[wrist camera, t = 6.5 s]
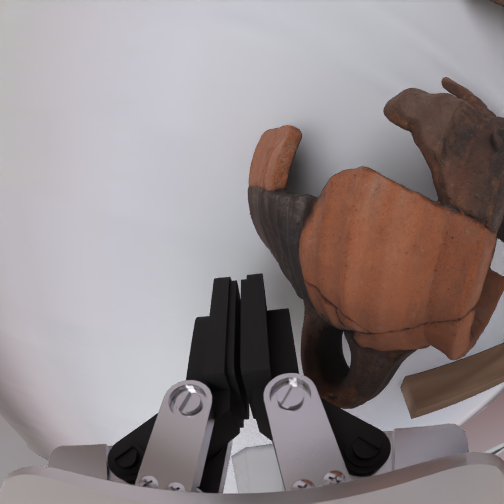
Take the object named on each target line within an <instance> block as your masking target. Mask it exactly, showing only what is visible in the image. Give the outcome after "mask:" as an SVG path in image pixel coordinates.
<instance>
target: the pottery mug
mask: <svg viewBox="0 0 504 504" xmlns="http://www.w3.org/2000/svg"><path fill="white" fill-rule="evenodd" d="M442 86H443V88H445V89H446V90H447V91H448V92H450V93H451V94H453V95H451V94H448V93H439V94H429V93H427V92H425V91H422V90H420V89H416V88H409V89H406V90H404V91H402V92H401V93H399V94H398V95H396V96H395V97H394V98H392V99H391V100H389V101H388V102H387V104H386V105H385V107H384V115H385V116H386V117H387V119H389V121H391V122H392V123H394V124H395V125H397V126H399V127H401V128H403V129H405V130H407V131H410V132H411V133H412V136H413V139H414V142H415V143H416V145H417V146H418V147H419V149H420V151H421V152H422V154H423V156H424V158H425V160H426V162H427V164H428V166H429V168H430V170H431V173H432V178H433V183H434V185H435V188H436V192H437V196H438V201H437V202H434V201H432V200H430V199H429V198H427V197H425V196H424V195H422V194H420V193H418V192H414V191H412V190H410V189H408V188H406V187H404V186H402V185H400V184H398V183H396V182H395V181H393V180H390V179H388V178H386V177H384V176H383V175H381V174H380V173H378V172H377V171H375V170H373V169H371V168H368V167H359V168H357V169H348V170H343V171H341V172H340V173H338V174H335V175H333V176H332V177H331V178H330V180H329V181H328V183H327V184H326V186H325V187H324V189H323V191H322V193H321V195H320V197H318V198H317V197H314V196H312V195H308V194H304V195H290V194H289V193H288V192H287V191H286V190H285V188H286V183H287V180H288V175H289V170H290V168H291V164H292V160H293V158H294V156H295V153H296V150H297V148H298V145H299V143H300V141H301V138H302V133H301V131H300V130H299V129H298V128H296V127H293V126H289V125H287V126H282V127H280V128H275V129H270V130H267V131H266V132H264V133H263V135H262V136H261V139H260V141H259V143H258V145H257V147H256V149H255V152H254V155H253V159H252V162H251V167H250V174H249V188H248V202H249V208H250V215H251V218H252V221H253V224H254V226H255V229H256V231H257V233H258V235H259V236H260V238H261V240H262V241H263V242H264V244H265V245H266V246H267V247H268V248H269V250H270V251H271V253H272V254H273V256H274V257H275V259H276V260H277V262H278V263H279V266H280V268H281V270H282V272H283V273H284V275H285V276H286V278H287V279H288V280H289V281H290V282H291V284H292V286H293V288H294V289H295V291H296V293H297V295H298V296H299V297H300V298H301V299H303V301H304V306H305V313H304V314H305V316H304V323H303V329H302V336H301V362H302V369H303V373H304V376H306V377H308V378H309V379H310V380H311V381H312V382H313V383H314V385H315V386H316V389H317V391H318V394H319V396H320V397H321V398H323V399H325V400H327V401H328V402H330V403H332V404H334V405H335V406H337V407H339V408H343V409H352V408H355V407H358V406H359V405H362V404H364V403H365V402H367V401H369V400H371V399H373V398H374V397H376V396H377V395H378V394H379V393H380V392H381V391H382V390H383V389H384V388H385V387H386V386H387V385H388V383H389V382H390V380H391V379H392V377H393V375H394V374H395V372H396V371H397V369H398V368H399V366H400V365H401V363H402V362H403V361H404V360H405V359H406V358H407V357H408V356H409V355H411V354H412V353H413V352H415V351H416V350H417V349H423V348H427V347H429V346H430V345H432V346H433V347H435V348H437V349H438V350H440V351H441V352H443V353H444V354H445V355H446V356H447V357H448V358H449V359H450V360H457V359H460V358H461V357H463V356H465V355H466V354H467V352H468V351H469V350H470V349H471V348H472V347H473V346H474V345H475V343H476V341H477V340H478V338H479V336H480V335H481V334H482V332H483V331H484V329H485V327H486V326H487V324H488V322H489V320H490V318H491V316H492V314H493V312H494V310H495V308H496V306H497V303H498V301H499V299H500V297H501V295H502V293H503V291H504V276H501V275H500V274H498V273H496V272H494V271H492V270H491V268H490V265H491V261H492V258H493V255H494V251H495V246H496V241H497V238H498V239H500V240H501V241H502V242H504V118H502V117H496V115H495V114H494V113H493V112H492V111H490V110H489V109H488V108H487V106H486V105H485V104H484V103H483V102H482V101H481V100H480V99H479V98H478V97H476V96H475V95H474V94H473V93H472V92H470V91H469V90H468V89H466V88H465V87H463V86H461V85H459V84H457V83H456V82H454V81H452V80H451V79H449V78H447V77H445V78H443V79H442ZM454 95H455V96H454ZM343 331H344V334H345V337H346V340H347V342H348V344H349V347H350V351H351V365H350V368H349V367H348V365H347V363H346V361H345V358H344V355H343V350H342V334H343Z"/></svg>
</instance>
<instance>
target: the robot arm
mask: <svg viewBox="0 0 504 504" xmlns="http://www.w3.org/2000/svg"><path fill="white" fill-rule="evenodd" d="M249 404H250V408H251V411H252V415H253V418H254V419H256V421H257V424H258V428H259V432H260V433H262V434H263V435H265V436H266V437H267V438H269V439H270V440H271V441H272V443H273V447H274V451H275V455H276V459H277V463H278V467H279V471H280V475H281V479H282V483H283V487H284V491H280V492H266V493H242V494H223V490H224V485H225V480H226V475H227V469H228V464H229V459H230V454H231V448H232V439H234V438H235V437H236V436H237V435H238V434H239V433H240V428H244V419H249ZM0 504H504V461H503V460H502V459H501V458H500V457H498V456H496V455H493V454H490V453H482V452H469V450H468V441H467V436H466V433H465V431H464V430H463V429H462V428H461V427H460V426H458V425H456V424H442V425H434V426H424V427H413V428H398V429H394V431H381V430H380V429H378V428H376V427H374V426H372V425H370V424H368V423H366V422H365V421H363V420H361V419H359V418H357V417H355V416H353V415H352V414H350V413H348V412H346V411H344V410H342V409H341V408H339V407H337V406H335V405H334V404H332V403H330V402H328V401H327V400H325V399H323V398H321V397H320V396H319V394H318V391H317V389H316V386H315V385H314V383H313V382H312V381H311V380H310V379H309V378H308V377H306V376H304V375H301V374H299V371H298V364H297V358H296V351H295V345H294V339H293V333H292V326H291V320H290V314H289V309H288V308H287V309H278V310H269V311H267V306H266V298H265V290H264V282H263V274H253V275H247V279H245V280H241V299H240V294H239V289H238V284H237V281H231V278H230V277H225V278H215V279H214V284H213V292H212V300H211V308H210V316H206V317H197V318H196V320H195V325H194V331H193V337H192V343H191V350H190V356H189V363H188V370H187V377H186V380H185V381H181V382H178V383H177V384H175V385H173V386H172V387H171V388H170V389H169V390H168V391H167V392H166V394H165V396H164V398H163V401H162V404H161V407H160V410H159V413H157V414H156V415H155V416H153V417H152V418H150V419H149V420H148V421H146V422H145V423H144V424H142V425H141V426H139V427H138V428H137V429H135V430H134V431H132V432H131V433H130V434H128V435H127V436H125V437H124V438H122V439H121V440H120V441H118V442H117V443H116V444H115V445H113V446H108V445H107V444H98V445H76V446H59V447H57V448H55V449H54V450H53V451H52V453H51V454H50V457H49V466H48V467H42V466H32V467H25V468H21V469H18V470H15V471H13V472H11V473H10V474H9V475H8V476H7V477H6V479H5V481H4V482H3V484H2V487H1V490H0Z"/></svg>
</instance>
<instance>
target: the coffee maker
mask: <svg viewBox="0 0 504 504" xmlns="http://www.w3.org/2000/svg"><path fill="white" fill-rule="evenodd" d="M232 462H233V467H234V473H235V479H236V484H237V489H238V494H242V493H266V492H280V491H284V487H283V483H282V479H281V475H280V471H279V467H278V463H277V459H276V455H275V451H274V447H273V444H270V445H263V446H255V447H246V448H244V449H243V450H241V451H240V452H238V453H236V454H235V455H233V456H232Z"/></svg>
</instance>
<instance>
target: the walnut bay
mask: <svg viewBox="0 0 504 504" xmlns="http://www.w3.org/2000/svg"><path fill="white" fill-rule="evenodd" d="M491 1H493V2H495V3H498V4H500V5H502V6H504V0H491ZM502 382H504V343H503V344H500V345H498V346H496V347H493V348H491V349H488V350H486V351H483V352H481V353H478V354H475V355H473V356H470V357H467V358H465V359H462V360H459V361H456V362H453V363H450V364H447V365H444V366H441V367H438V368H435V369H432V370H428V371H425V372H422V373H418V374H415V375H411V376H408V377H405V378H404V381H403V383H402V385H401V387H400V388H401V390H402V393H403V396H404V399H405V402H406V405H407V407H408V410H409V413H410V416H411V419H413V418H416V417H419V416H422V415H425V414H428V413H431V412H434V411H437V410H440V409H442V408H445V407H448V406H450V405H453V404H455V403H458V402H460V401H463V400H465V399H468V398H470V397H472V396H475V395H477V394H479V393H481V392H484V391H486V390H488V389H490V388H492V387H494V386H496V385H498V384H500V383H502Z"/></svg>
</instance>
